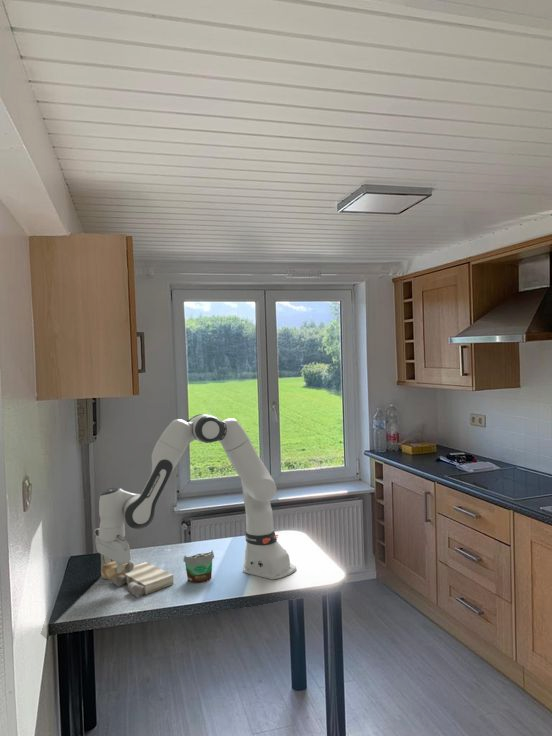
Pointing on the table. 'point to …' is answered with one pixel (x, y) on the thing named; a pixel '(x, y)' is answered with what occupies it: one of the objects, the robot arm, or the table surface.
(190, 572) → the food container
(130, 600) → the table surface
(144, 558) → the table surface
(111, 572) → the tan rectangular block
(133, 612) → the table surface
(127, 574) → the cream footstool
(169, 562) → the table surface
